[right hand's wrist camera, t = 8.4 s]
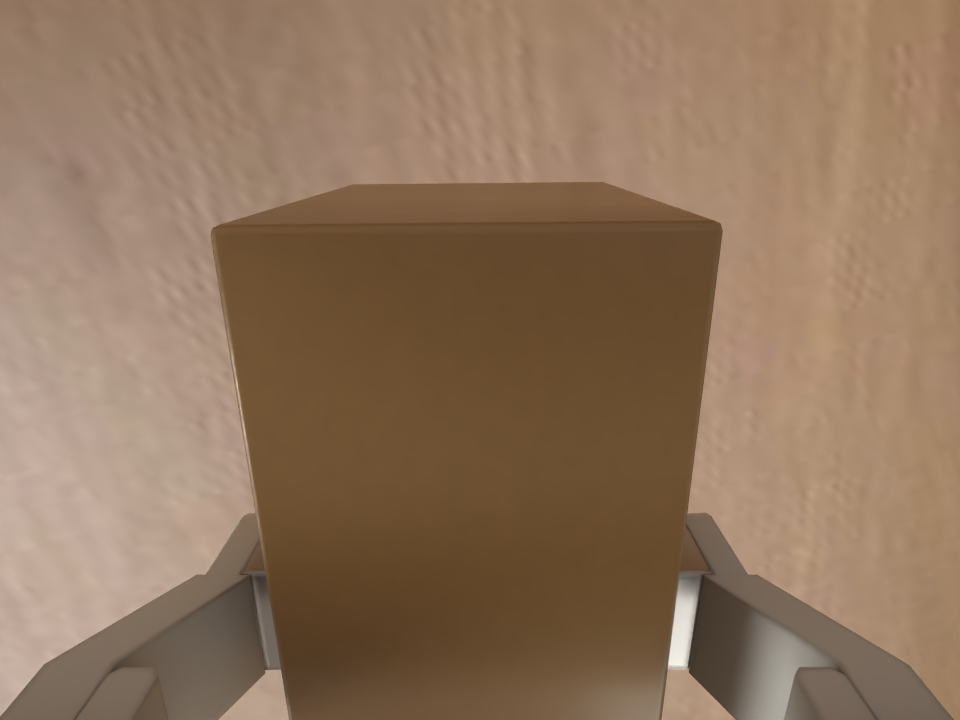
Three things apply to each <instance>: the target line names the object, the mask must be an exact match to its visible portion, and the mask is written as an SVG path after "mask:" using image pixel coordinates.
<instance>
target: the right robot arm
mask: <svg viewBox="0 0 960 720" xmlns="http://www.w3.org/2000/svg"><path fill="white" fill-rule="evenodd" d="M277 669H281V666H280V659H279V653H278V647H277V641H276V635H275V629H274V622H273V616H272V610H271V604H270V598H269V592H268V585H267V579H266V573H265V567H264V561H263V555H262V548H261V542H260V536H259V530H258V524H257V518H256V513H249V514H247V515H245V516H243V517H242V519H241V520H240V522H239V523H238V525H237V527H236V528H235V530H234V531H233V533H232V534H231V536H230V538H229V539H228V541H227V542H226V544H225V545H224V547H223V548H222V550H221V552H220V553H219V555H218V556H217V558H216V559H215V561H214V563H213V564H212V566H211V567H210V569H209V570H208V572H207V574H206V575H196V576H194V577H192V578H190V579H189V580H187V581H185V582H184V583H182V584H180V585H179V586H177V587H175V588H173V589H172V590H170V591H168V592H167V593H165V594H163V595H162V596H160V597H158V598H156V599H155V600H153V601H151V602H150V603H148V604H146V605H145V606H143V607H141V608H139V609H138V610H136V611H134V612H133V613H131V614H129V615H127V616H126V617H124V618H122V619H121V620H119V621H117V622H116V623H114V624H112V625H110V626H109V627H107V628H105V629H104V630H102V631H100V632H99V633H97V634H95V635H93V636H92V637H90V638H88V639H87V640H85V641H83V642H82V643H80V644H78V645H76V646H75V647H73V648H71V649H70V650H68V651H66V652H64V653H63V654H61V655H59V656H58V657H56V658H54V659H53V660H51V661H49V662H47V663H46V664H44V665H43V667H42V668H41V669H40V670H39V671H38V673H37V674H36V675H35V676H34V677H33V678H32V680H31V681H30V682H29V683H28V684H27V686H26V687H25V688H24V689H23V690H22V692H21V693H20V694H19V695H18V696H17V698H16V699H15V700H14V701H13V702H12V704H11V705H10V706H9V707H8V708H7V710H6V711H5V712H4V713H3V714H2V716H1V717H0V720H218V719H219V718H220V717H221V716H222V715H223V714H224V713H225V712H226V711H227V710H228V709H229V708H230V707H231V706H232V705H233V704H234V703H235V702H236V701H237V700H238V699H239V698H240V697H242V696H243V695H244V694H245V693H246V692H247V691H248V690H249V689H250V688H251V687H252V686H253V685H254V684H255V683H256V682H257V681H258V680H259V679H260V678H261V677H262V676H263V675H264V674H265V670H277ZM668 669H677V670H689V673H690V674H691V675H692V676H693V677H694V678H695V679H696V680H697V681H698V682H699V683H700V684H701V685H702V686H703V687H704V688H705V689H706V690H707V691H708V692H709V693H710V694H711V695H712V696H713V697H714V698H715V699H716V700H717V701H718V702H719V703H720V704H721V705H722V706H723V707H724V708H725V709H726V710H727V711H728V712H729V713H730V714H731V715H732V716H733V717H734V718H735V719H736V720H954V719H953V718H952V717H951V716H950V715H949V713H948V712H947V711H946V710H945V708H944V707H943V706H942V705H941V704H940V702H939V701H938V700H937V699H936V697H935V696H934V695H933V694H932V692H931V691H930V690H929V689H928V688H927V686H926V685H925V684H924V683H923V681H922V680H921V679H920V678H919V677H918V675H917V674H916V673H915V672H914V670H913V669H912V668H911V667H910V666H909V665H908V664H906V663H905V662H903V661H901V660H900V659H898V658H896V657H894V656H893V655H891V654H889V653H888V652H886V651H884V650H883V649H881V648H879V647H878V646H876V645H874V644H873V643H871V642H869V641H868V640H866V639H864V638H863V637H861V636H859V635H857V634H856V633H854V632H852V631H851V630H849V629H847V628H846V627H844V626H842V625H841V624H839V623H837V622H836V621H834V620H832V619H831V618H829V617H827V616H826V615H824V614H822V613H820V612H819V611H817V610H815V609H814V608H812V607H810V606H809V605H807V604H805V603H804V602H802V601H800V600H799V599H797V598H795V597H794V596H792V595H790V594H789V593H787V592H785V591H784V590H782V589H780V588H778V587H777V586H775V585H773V584H772V583H770V582H768V581H767V580H765V579H763V578H762V577H760V576H758V575H748V574H747V572H746V570H745V569H744V567H743V566H742V564H741V563H740V561H739V559H738V558H737V556H736V555H735V553H734V551H733V550H732V548H731V547H730V545H729V544H728V542H727V540H726V539H725V537H724V536H723V534H722V533H721V531H720V529H719V528H718V526H717V525H716V523H715V521H714V520H713V518H712V517H711V516H710V515H709V514H707V513H689V514H687V519H686V527H685V535H684V543H683V551H682V559H681V567H680V575H679V583H678V591H677V599H676V607H675V615H674V623H673V630H672V638H671V646H670V654H669V662H668Z"/></svg>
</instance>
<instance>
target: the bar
mask: <svg viewBox="0 0 960 720" xmlns="http://www.w3.org/2000/svg"><path fill="white" fill-rule="evenodd" d="M722 232H723V231H722V227H721V224H720V223H718V222H716V221H714V220H711V219H708V218H705V217H702V216H699V215H696V214H694V213H691V212H688V211H685V210H682V209H679V208H676V207H673V206H670V205H668V204H665V203H662V202H659V201H656V200H653V199H650V198H647V197H644V196H642V195H639V194H636V193H633V192H630V191H627V190H624V189H621V188H618V187H616V186H613V185H610V184H607V183H604V182H558V183H461V184H365V185H350V186H347V187H343V188H340V189H337V190H333V191H330V192H327V193H323V194H320V195H317V196H313V197H310V198H307V199H304V200H300V201H297V202H294V203H290V204H287V205H284V206H280V207H277V208H274V209H270V210H267V211H264V212H260V213H257V214H254V215H251V216H247V217H244V218H241V219H237V220H234V221H231V222H227V223H224V224H221V225H218V226H216V227H214V228H213V229H212V232H211V241H212V247H213V253H214V259H215V265H216V271H217V278H218V284H219V290H220V296H221V302H222V308H223V314H224V321H225V327H226V333H227V339H228V345H229V351H230V358H231V364H232V370H233V376H234V382H235V388H236V395H237V401H238V407H239V413H240V419H241V425H242V431H243V438H244V444H245V450H246V456H247V462H248V468H249V475H250V481H251V487H252V493H253V499H254V505H255V512H256V518H257V524H258V530H259V536H260V542H261V548H262V555H263V561H264V567H265V573H266V579H267V585H268V592H269V598H270V604H271V610H272V616H273V622H274V629H275V635H276V641H277V647H278V653H279V659H280V666H281V672H282V678H283V684H284V690H285V696H286V702H287V709H288V715H289V720H661V718H662V710H663V702H664V694H665V686H666V678H667V670H668V662H669V654H670V646H671V638H672V630H673V623H674V615H675V607H676V599H677V591H678V583H679V575H680V567H681V559H682V551H683V543H684V535H685V527H686V519H687V511H688V503H689V495H690V487H691V479H692V471H693V463H694V455H695V447H696V439H697V431H698V423H699V415H700V407H701V399H702V391H703V383H704V375H705V367H706V359H707V352H708V344H709V336H710V328H711V320H712V312H713V304H714V296H715V288H716V280H717V272H718V264H719V256H720V248H721V240H722Z"/></svg>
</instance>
